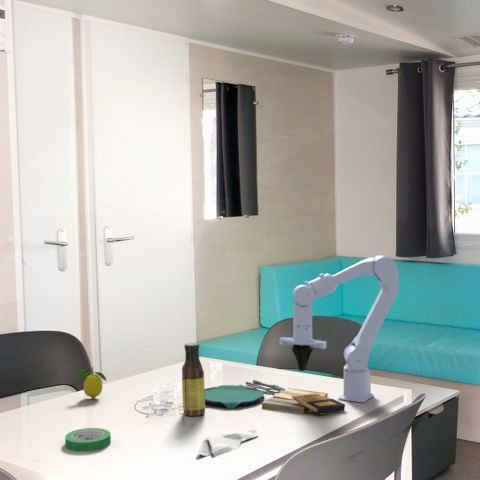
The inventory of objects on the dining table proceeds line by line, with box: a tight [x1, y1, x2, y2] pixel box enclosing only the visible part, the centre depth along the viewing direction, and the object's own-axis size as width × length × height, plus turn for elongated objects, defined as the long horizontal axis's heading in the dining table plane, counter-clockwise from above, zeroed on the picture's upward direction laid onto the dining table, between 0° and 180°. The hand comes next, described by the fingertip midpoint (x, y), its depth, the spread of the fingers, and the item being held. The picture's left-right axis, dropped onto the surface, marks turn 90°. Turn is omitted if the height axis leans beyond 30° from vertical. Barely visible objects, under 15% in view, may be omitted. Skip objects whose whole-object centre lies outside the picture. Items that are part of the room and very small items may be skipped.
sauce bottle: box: [181, 342, 206, 417], centre depth 219 cm, size 7×6×20 cm
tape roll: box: [64, 427, 112, 452], centre depth 194 cm, size 11×11×3 cm
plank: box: [272, 387, 329, 401], centre depth 233 cm, size 11×13×2 cm
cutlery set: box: [205, 379, 287, 410], centre depth 238 cm, size 20×30×2 cm, turn 137°
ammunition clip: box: [292, 393, 346, 415], centre depth 223 cm, size 11×2×12 cm
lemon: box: [77, 365, 107, 400], centre depth 234 cm, size 7×6×10 cm
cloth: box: [195, 429, 259, 461], centre depth 194 cm, size 26×14×2 cm, turn 133°
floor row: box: [261, 396, 310, 415], centre depth 224 cm, size 6×13×2 cm, turn 62°
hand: (302, 370), depth 234 cm, fingers closed
